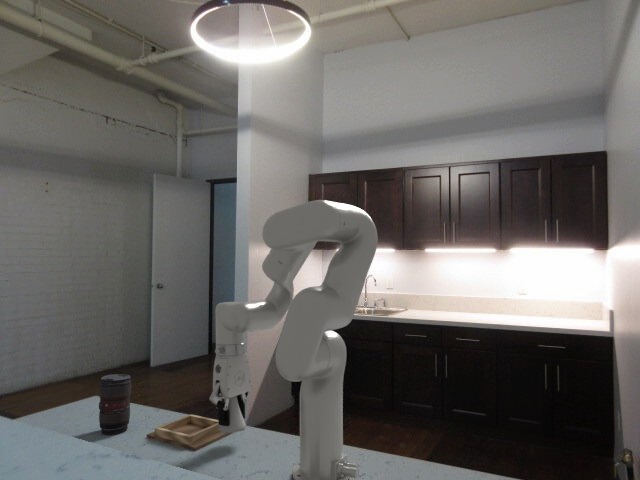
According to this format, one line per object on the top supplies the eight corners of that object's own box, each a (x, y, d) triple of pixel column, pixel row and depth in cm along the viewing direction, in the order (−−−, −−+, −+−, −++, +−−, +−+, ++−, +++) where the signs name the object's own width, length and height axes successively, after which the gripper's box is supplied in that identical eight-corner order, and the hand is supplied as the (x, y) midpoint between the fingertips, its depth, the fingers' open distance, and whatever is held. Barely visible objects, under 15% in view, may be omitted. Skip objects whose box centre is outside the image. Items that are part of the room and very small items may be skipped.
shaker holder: (232, 433, 126) (232, 422, 126) (195, 451, 114) (195, 439, 114) (185, 422, 135) (186, 412, 135) (146, 437, 123) (146, 427, 123)
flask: (218, 435, 113) (217, 394, 114) (217, 426, 120) (216, 387, 121) (248, 432, 115) (247, 391, 116) (244, 423, 122) (244, 384, 122)
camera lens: (118, 437, 123) (119, 380, 124) (92, 435, 125) (93, 379, 126) (136, 426, 131) (137, 373, 132) (111, 425, 133) (112, 372, 134)
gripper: (218, 356, 110) (220, 434, 108) (262, 345, 124) (264, 414, 123) (196, 354, 113) (196, 430, 112) (241, 344, 128) (242, 410, 127)
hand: (232, 421), depth 117 cm, fingers closed on flask, 5 cm apart
